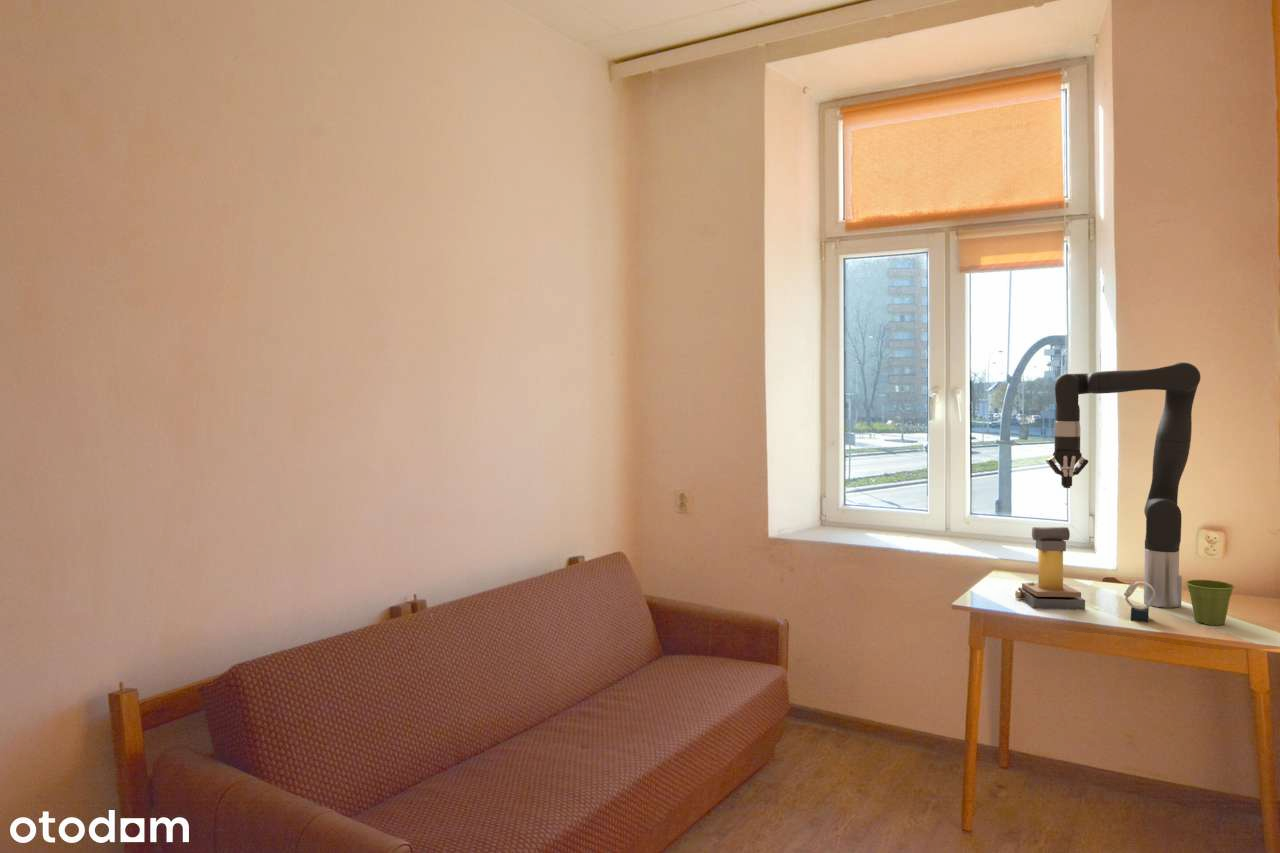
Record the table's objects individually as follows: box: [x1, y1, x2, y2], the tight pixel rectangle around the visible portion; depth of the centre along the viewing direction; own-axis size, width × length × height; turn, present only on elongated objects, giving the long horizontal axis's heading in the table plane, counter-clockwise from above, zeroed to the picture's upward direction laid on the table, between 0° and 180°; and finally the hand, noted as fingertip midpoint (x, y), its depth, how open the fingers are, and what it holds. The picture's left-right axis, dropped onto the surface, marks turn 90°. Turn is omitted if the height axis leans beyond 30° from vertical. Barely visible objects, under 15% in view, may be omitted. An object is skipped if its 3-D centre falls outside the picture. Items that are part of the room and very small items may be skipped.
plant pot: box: [1185, 579, 1236, 626], centre depth 245 cm, size 12×12×11 cm
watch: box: [1123, 580, 1156, 623], centre depth 250 cm, size 6×8×11 cm
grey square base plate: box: [1014, 587, 1086, 611], centre depth 270 cm, size 18×17×3 cm
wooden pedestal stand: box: [1021, 526, 1082, 598], centre depth 269 cm, size 13×14×20 cm
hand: (1066, 487), depth 279 cm, fingers closed
